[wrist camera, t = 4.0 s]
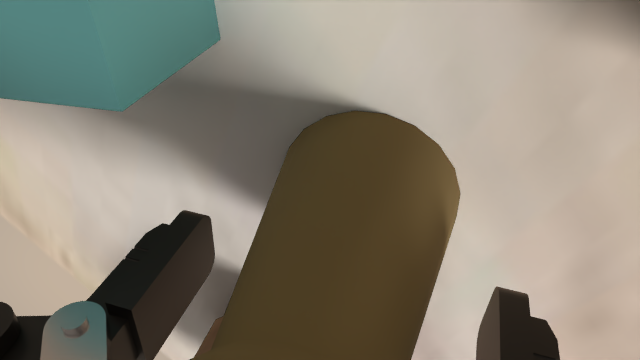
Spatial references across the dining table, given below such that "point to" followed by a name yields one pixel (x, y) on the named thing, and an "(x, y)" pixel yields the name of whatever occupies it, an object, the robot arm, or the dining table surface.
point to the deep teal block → (98, 48)
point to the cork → (344, 246)
